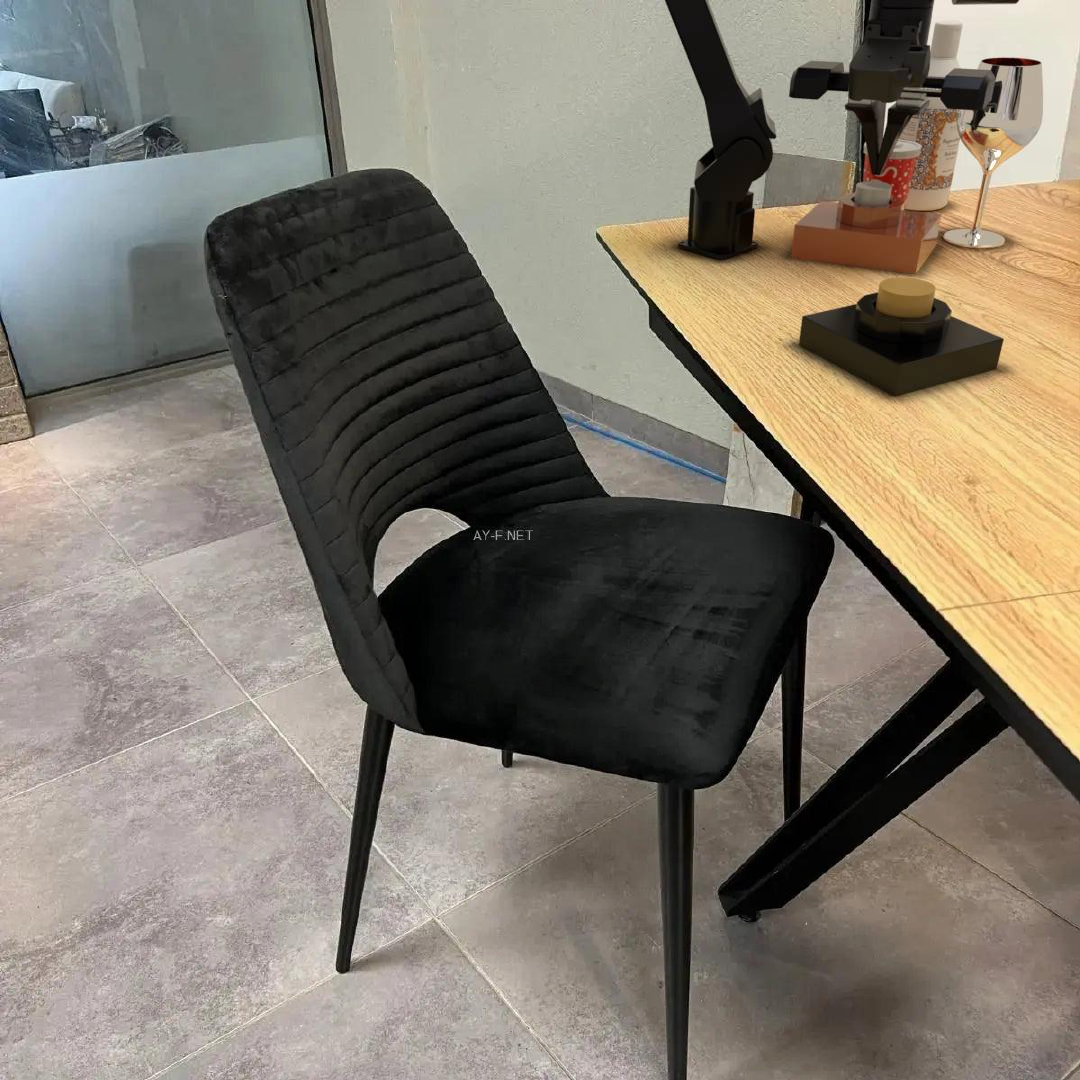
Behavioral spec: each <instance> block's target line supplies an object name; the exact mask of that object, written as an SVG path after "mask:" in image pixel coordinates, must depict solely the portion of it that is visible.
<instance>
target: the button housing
mask: <svg viewBox="0 0 1080 1080" xmlns="http://www.w3.org/2000/svg"><path fill="white" fill-rule="evenodd" d="M854 196H855V192H849V193H846V194H843V195H841V197H839V198H838V202H835V201H826V200H821V201H820V202H818V204H816V206H814V207H813V208H812V209H811V210H810V211H809V212H808V213H807V214H805V215H804V216H803V217H802V218H801V219H799V221H798V222H796V223H795V224H794V229H793V238H792V248H791V254H790V255H791V256H790V257H791V258H795V259H801V260H802V259H803V260H809V261H817V262H824V263H831V264H838V265H845V266H852V267H860V268H868V269H874V270H883V271H889V272H897V273H903V274H912V275H916V274H917V273H918V272H919V271H920V269H921V268H922V266H923V264H924V263H925V262H926V260H928V258H929V256H930V255H931V254H932V252H933V250H934V249H935V248H936V246H937V241H938V237H939V230H940V226H941V220H942V214H941V213H933V212H926V211H915V210H907V209H904V205H905V201H904V200H902V199H901V198H900V197H897V196H894V195H891V196H890V202H889V204H888V205H884V206H868V205H860V204H857V203H854Z"/></svg>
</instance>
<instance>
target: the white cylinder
mask: <svg viewBox="0 0 1080 1080" xmlns="http://www.w3.org/2000/svg"><path fill="white" fill-rule="evenodd" d="M891 190H892V186H891V185H890V184H888V183H884V182H878V181H865V182H863V181H860V182H858V183H856V184H855V191H854V193H855V196H854V203H857V204H860V205H868V206H884V205H888V204H889V202H890V196H891Z"/></svg>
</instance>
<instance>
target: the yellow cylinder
mask: <svg viewBox="0 0 1080 1080" xmlns="http://www.w3.org/2000/svg"><path fill="white" fill-rule="evenodd" d="M936 290H937V289H936V286H935V285H934V284H933V283H932V282H930V281H927V280H924V279H920V278H916V277H905V276H904V277H902V276H901V277H900V276H898V277H889V278H886V279H882V280H881V281H880V282H879V285H878V291H877V292H878V296H877V302H876V310H878V311H880V312H882V313H884V314H887V315H892V316H897V317H911V318H919V317H923V316H928V315H931V310H932V305H933V300H934V298H935V295H936Z"/></svg>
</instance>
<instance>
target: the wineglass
mask: <svg viewBox="0 0 1080 1080" xmlns="http://www.w3.org/2000/svg"><path fill="white" fill-rule="evenodd" d="M976 69H980V70H991V71H992V73H993V74H994V76H995V84H994V89H993V94H992V99H991V101H990V102H989V103H988V104H987V105H986V107H985V108H984V109H983V110H976V111H975V110H959V113H958V117H957V131H958V134H959V137H960V142H961V143H962V144H963V146H964V147H965V148H966V150H967V151H968V152H969V153H970V154H971V155H972V156H973V158H974V159H975V160H976V161H977V163H978V164H979V165H980V168H981V170H982V178H981V179H982V180H981V185H980V189H979V194H978V200H977V204H976V208H975V213H974V218H973V222H972V224H971V227H970V228H955V229H951V230H947V231H946V232H944V233H943V236H942V237H943V240H944V241H945V242H947V243H949V244H951V245H954V246H959V247H962V248H969V249H994V248H997V247H1000V246H1002V245H1004V244H1005V241H1006V239H1005V237H1004V236H1003V235H1001V234H999V233H996V232H994V231H989V230H984V229H982V223H983V217H984V211H985V207H986V202H987V197H988V192H989V187H990V183H991V179H992V175H993V173H994V172H995V170H996V169H997V168H999V167H1000V166H1001V165H1002V164H1003V163H1005V162H1006V161H1007V160H1009V159H1010V158H1012V157H1013V156H1015V155H1016V154H1018V153H1019V152H1020V151H1022V150H1023V149H1024V148H1026V147H1027V146H1028V145H1029V144H1030V143H1031V142H1032V141H1033V140H1034V139H1035V137H1036V135H1037V134H1038V133H1039V131H1040V128H1041V126H1042V122H1043V118H1044V117H1043V115H1044V82H1043V80H1044V79H1043V62H1042V61H1040V60H1037V59H1031V58H1026V57H1025V58H1024V57H1007V56H1005V57H1004V56H1003V57H988V58H983V59H981V60H980V61H979V64H978V67H977V68H976Z"/></svg>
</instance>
